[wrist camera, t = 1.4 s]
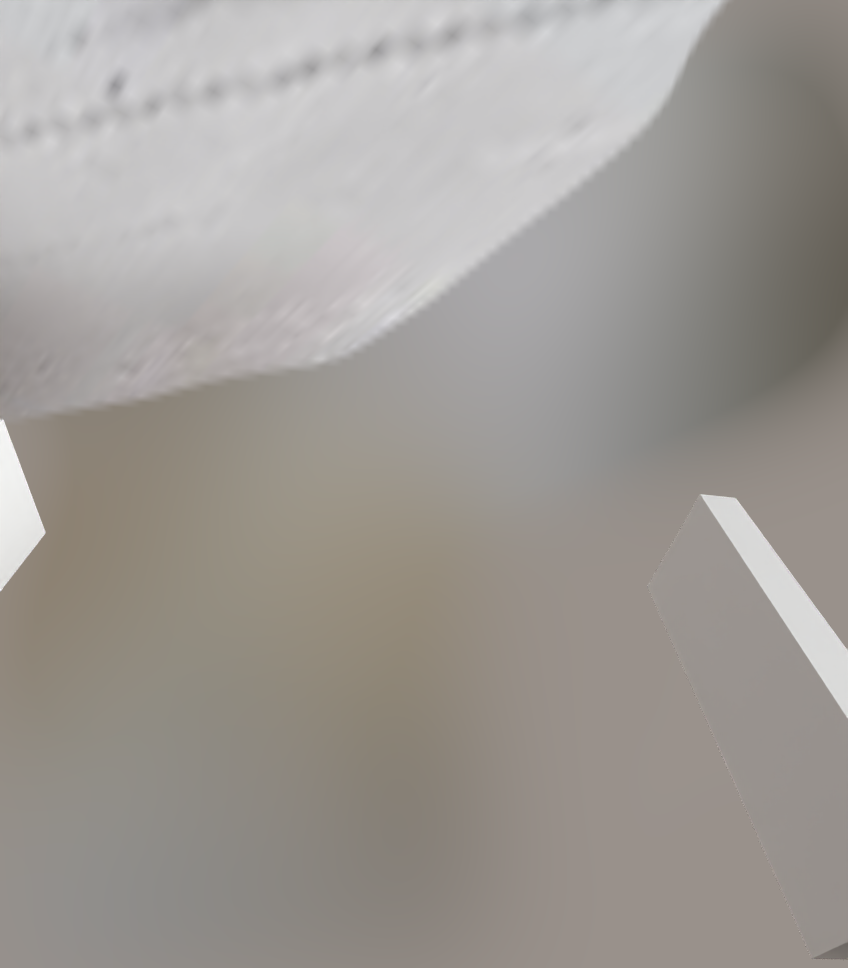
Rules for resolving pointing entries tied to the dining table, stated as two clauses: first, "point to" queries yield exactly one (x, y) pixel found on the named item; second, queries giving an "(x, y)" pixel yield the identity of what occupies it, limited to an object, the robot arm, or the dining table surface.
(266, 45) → the dining table surface
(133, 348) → the dining table surface
